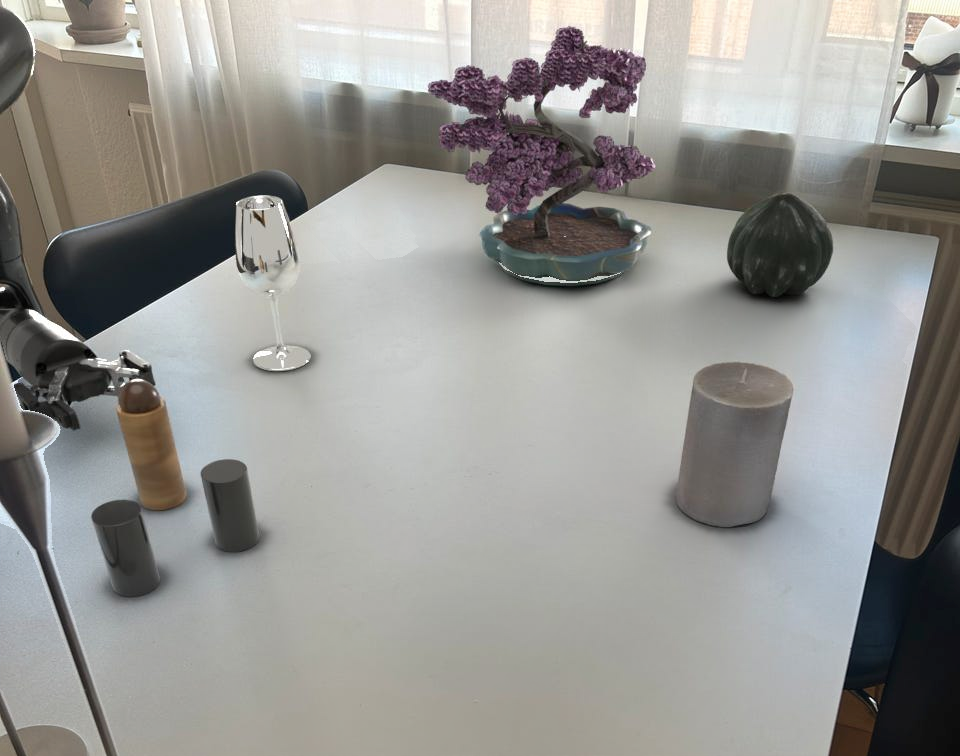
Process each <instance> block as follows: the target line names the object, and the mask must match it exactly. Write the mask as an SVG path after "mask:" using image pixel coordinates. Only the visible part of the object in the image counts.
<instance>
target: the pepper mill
mask: <svg viewBox="0 0 960 756" xmlns="http://www.w3.org/2000/svg"><path fill="white" fill-rule="evenodd" d="M117 399H118V400H117V402H118V403H117V404H116V407H115V410H116V415H117V418H118V422H119V426H120V429H121V434H122V437H123V440H124V444H125V448H126V452H127V456H128V459H129V463H130V467H131V470H132V474H133V479H134V482H135V486H136V489H137V492H138V497H139V501H140V505H142V506H143V508H145V509H147V510H151V511H166V510H171V509H174V508H177V507H178V506H180V505H182V504H183V503H184V502H185V501H186V499H187V496H188V493H187V489H186V485H185V480H184V476H183V472H182V467H181V464H180V460H179V455H178V451H177V445H176V442H175V438H174V433H173V429H172V425H171V424H172V423H171V421H170V416H169V412H168V408H167V407H168V406H167V403H166V400H165V398H164V397H162V396H161V395H160V393H159V391H158V390H157V388H156V387H155V386H153V385H152V384H151V383H149V382H147V381H144V380H139V379H136V380H131V381H129V380H128V381H127V382H125V384H124V385H123V386H122V388H121V389H120V391H119V395H118V396H117Z"/></svg>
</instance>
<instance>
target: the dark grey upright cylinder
mask: <svg viewBox="0 0 960 756" xmlns="http://www.w3.org/2000/svg"><path fill="white" fill-rule="evenodd" d="M90 519H91V522H92V525H93V528H94V532H95V534H96V538H97V541H98V544H99V547H100V551H101V554H102V558H103V561H104V564H105V567H106V570H107V573H108V577H109V580H110V584H111V587H112V590H113V591H114V592H115V593H116V594H118V595H119V596H122V597H127V598H134V597H139V596H140V597H141V596H144V595H146V594H149V593H150V592H152V591H154V590H155V589H156V588H157V587H159V585H160V582H161V576H160V572H159V568H158V565H157V562H156V557H155V553H154V550H153V546H152V543H151V539H150V535H149V531H148V527H147V524H146V519H145V517H144V513H143V509H142V506H141V504H140V503H138V501H134V500H133V499H132V500H131V499H114V500H110V501H107V502H104V503H102V504H100V505H98V506H97V507H96V508H95V509H94V510H93V511H92V512H91V516H90Z"/></svg>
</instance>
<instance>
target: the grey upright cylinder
mask: <svg viewBox="0 0 960 756" xmlns="http://www.w3.org/2000/svg"><path fill="white" fill-rule="evenodd" d="M200 479H201V484H202V487H203V492H204V498H205V502H206V506H207V511H208V515H209V520H210V524H211V531H212V533H213V538H214V543H215V545H216V547H217V548H218V549H220V550H222V551H224V552H227V553H237V552H238V553H239V552H243V551H248V550H249V549H251V548H253V547H255V546H256V545H257V544H258V542H259V540H260V532H259V525H258V520H257V515H256V510H255V509H256V508H255V504H254V499H253V494H252V489H251V488H252V487H251V481H250V476H249V471H248V467H247V464H245V463H244V462H243V461H241V460H238V459H233V458H232V459H231V458H226V459H225V458H224V459H218V460H214V461H212V462H210V463H207V464H205V465H204V466H203V467H202V468H201V471H200Z"/></svg>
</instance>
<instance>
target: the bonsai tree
mask: <svg viewBox="0 0 960 756" xmlns="http://www.w3.org/2000/svg"><path fill="white" fill-rule="evenodd" d="M554 34H555V38H554V40H552V41H551V43H550V46H551V47H550V50H547V52H545V55H544V56H545V58H544V60H545V61H544V62H542V63H541V65H539V62H538V61H536V60H535V59H533V58H531V57H524V58H519V59H516V60H514V61H513V62H512V63H511V66H512V68H511V72H510V73H509V74H508V75H507V78H506V79H507V81H504V80H501V78H500V76H498V75H497V74H496V75H492V76H488V77H486V74H484V72H483V71H484V70H483V69H481V68H479V67H476V66H475V65H469V64H467V65H466V66H461V67H460V66H459V67H458V68H455V70H454V74H455V75H454V78H453V80H452V81H448V79H439V80H435V81H431V82H429V83H428V84H427V88H428V89H427V92H428V93H429V94H430V95H431V96H435V98H436V99H438V100H441V99H442V100H444V101H447V103H448V104H452V105H453V106H457V105H458V107H464V108H466V109H467V110H468V113H469V114H470V115H477V116H475V117H470V118H467V119H465V121H464V123H462V124H460V122H458V121H456V122H455V121H451V122H450V123H449V122H447V123H443V124H441V125H440V126H439V128H438V130H439V133H438V139H439V145H440V147H441V148H442V149H444V150H446V151H447V152H448V153H454V152H455V149H456V147H458V148H461V149H465V148H466V146H467V147H468V149H469V151H470V152H471V153H475V152H476V151H477V152H478V153H479V154H481V149H482V150H484V151H489V152H491V153H490V154H488V158H486V162H485V164H484V165H483V163H482V162H481V161H475V162H472V163H471V166H470V167H469V168H468V169H467V171H466V172H465V180H466V181H467V182H468V183H469V184H475V185H476V186H481V185H482V184H483V185H484V186H485V185H487V184H488V183H489V184H488V185H487V186H486V187H485V190H486V191H485V193H486V194H487V195H488V197H487V200H486V201H485V210H488V211H489V212H494V214H495V215H494V216H493V217H492V221H493V223H491V224H487V225H485V226H484V227H483V228H482V230H480V231H479V233H478V236H479V237H480V238H481V246H482V249H483V253H484V254H485V255H486V256H487V257H489V258H490V259H492V260H494V261H495V262H496V261H498V262H500V263H502V265H503V266H505V267H506V268H507V269H509V270H510V271H512V272H513V273H512V272H510V271H507V270H505V269H504V268H503V267H502V266H501V265H500V264H499V263H498V262H497V264H498V265H499V266H500V268H501V269H502V270H503V272H504V273H505V274H508V275H510V276H512V277H515V278H517V279H519V280H521V281H524V282H529V283H534V284H539V285H544V286H561V287H578V286H584V285H585V286H586V285H595V284H600V283H603V282H607V281H610V280H614V279H617V278H619V277H620V276H621V275H622V274H624V273H625V272H627V271H628V270H631V269H632V268H633V267H634V266H635V264H636V263H637V260H638V257H639V255H640V254H641V253H643V252H645V249H646V246H647V244H648V237H649V236H650V235H651V234H652V228H651V227H650V225H647V224H645V223H643V222H641V221H639V220H637V219H631V218H630V219H629V218H628V217H627V215H626V213H625V212H624V211H623V210H621V209H619V208H616V207H608V206H607V207H606V206H592V207H584V208H583V207H581V206H578V205H575V204H572V203H570V202H569V203H567V201H569V200H570V199H572V198H573V197H575V196H577V195H578V194H580V193H582V192H583V191H585V190H587V189H588V188H590V187H591V186H592V185H593V184H594V185H596V187H595V189H598V190H599V191H600V193H601V194H607V193H608V192H609V191H613V190H615V189H616V188H620V187H621V188H624V184H627V183H631V181H633V180H638V179H639V180H640V179H642V178H644V177H646V176H648V174H649V173H653V171H654V169H656V168H657V166H656V163H655V162H654V159H653V158H652V157H651V156H646V155H645V154H641V151H640V150H639V148H638V147H637V145H632V144H629V145H627V146H626V144H625V145H622V144H619V145H616V144H615V141H614V140H613V138H612V136H611V135H608V136H607V135H597V137H595V138H593V146H594V147H595V148H594V149H593V148H592V147H591V146H590V145H589V144H587V143H586V142H585V141H584V140H582V139H581V138H579V137H577V136H576V135H575V134H573V133H571V132H570V131H567V129H565V128H563V127H561V126H560V125H558V124H557V123H555V122H554V121H552V120H551V119H550V118H548V117H547V116H546V114H545V113H544V111H543V110H542V104H543V102H544V100H545V98H546V97H547V95H548V94H549V93H550V92H552V91H555V90H556V86H558V87H560V88H564V87H565V86H568V88H569V89H570V91H572V92H574V91H576V90H578V92H579V93H580V92H581V88H582V87H584V86H585V83H587V82H588V79H589V78H590V80H593V81H594V80H595V81H597V80H598V79H599V80H603V81H604V84H603V85H602V86H598V87H596V88H592V89H591V91H589V93H588V95H589V98H586V99H585V102H584V104H583V107H581V108H580V109H579V112H578V116H579V117H580V118H581V119H590V118H591V115H592V112H600V111H601V110H602V108H603V104H604V108H605V112H606V113H607V114H610V115H612V114H613V113H614V112H615V113H617V114H618V113H619V114H625V113H626V112H627V109H628V110H630V106H631V107H634V104H636V103H637V102H638V96H637V93H636V90H637V89H638V84H639V83H640V82H642V80H643V78H644V76H645V72H646V70H647V62H646V58H645V57H642V56H640V55H636V53H635V52H631V48H628V49H627V48H624V49H623V47H622V46H621V47H619V48H618V49H617V48H616V49H615V48H614V47H612V48H611V49H609V48H608V47H605V46H602V44H599V45H590V46H589V44H587V43H588V40H584V39H585V36H584V32H583V30H581V29H580V28H577V27H576V26H570V25H568V26H566V27H561V28H560V27H559V28H557V30H556V31H555V33H554ZM528 96H529V97H532V96H534V103H533V112H534V117H535V118H536V119H532V118H526V120H525V122H524V120H523V119H522V117H521V115H520V114H518V113H517V114H516V115H514V112H512V113H509V111H508V110H506V109H507V100H508V99H509V98H510V99H513V102H514V103H515V102H516V103H521V102H522V100H523V99H526V98H527V97H528ZM503 110H506V112H505V113H504V111H503ZM481 115H482V116H481ZM575 151H576V152H578V153H579V154H581V155H582V156H580V157H576V158H574V154H575ZM581 167H590V169H589V170H588V171H587V172H586V173H585V174H584V172H583V169H582V168H581ZM567 182H568V184H567V185H565V184H566V183H567ZM555 185H557V187H561V188H560V189H558V190H557V191H555V192H554V193H552V194H551V195H549V196H548V197H546V198H545V199H543V200H542V202H541V203H540V204H539V205H536V206H535V207H533V208H531V209H527V208H528V207H529V206H530V204H531V200H532V199H533V198H534V197H537V198H541V197H542V198H543V196H544V192H543V191H545V192H548V191H549V190H550V189H552V188H553V187H554V186H555ZM564 185H565V186H564ZM563 186H564V187H563ZM505 207H506V210H504V208H505ZM564 236H566V237H564ZM620 272H621V273H620ZM514 273H515V274H514ZM617 273H620V274H617ZM516 274H517V275H516ZM614 274H617V275H614ZM518 275H521V276H529V277H535V278H542V277H549V276H550V277H553V278H556V279H559V280H566V281H580V280H588V279H591V278H594V277H597V276H610V275H614V276H611V277H608V278H604V279H601V280H596V281H587V282H578V283H560V282H544V281H539V280H534V279H529V278H524V277H520V276H518Z"/></svg>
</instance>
